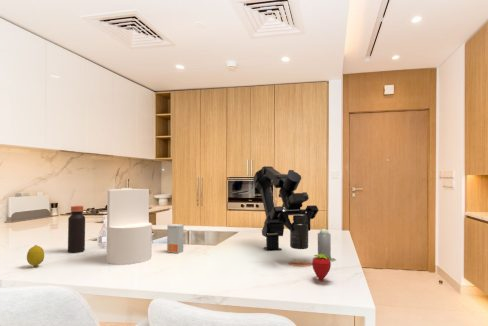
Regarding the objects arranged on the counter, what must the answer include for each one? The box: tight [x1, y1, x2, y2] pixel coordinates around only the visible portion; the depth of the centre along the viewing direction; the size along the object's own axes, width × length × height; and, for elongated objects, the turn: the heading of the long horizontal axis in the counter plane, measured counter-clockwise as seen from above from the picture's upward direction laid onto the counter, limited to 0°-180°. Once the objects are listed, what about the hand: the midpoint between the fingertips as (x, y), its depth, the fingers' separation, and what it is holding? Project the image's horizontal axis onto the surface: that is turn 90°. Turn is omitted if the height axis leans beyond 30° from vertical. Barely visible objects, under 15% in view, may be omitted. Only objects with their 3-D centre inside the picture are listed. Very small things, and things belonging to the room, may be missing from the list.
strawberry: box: [311, 251, 332, 282], centre depth 109 cm, size 6×8×10 cm
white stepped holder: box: [106, 188, 153, 266], centre depth 137 cm, size 17×17×28 cm
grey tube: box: [317, 228, 332, 260], centre depth 134 cm, size 5×5×12 cm
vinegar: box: [67, 205, 86, 254], centre depth 150 cm, size 7×7×20 cm
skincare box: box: [166, 223, 185, 254], centre depth 149 cm, size 6×4×12 cm
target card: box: [288, 256, 337, 268], centre depth 130 cm, size 12×22×1 cm, turn 107°
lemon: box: [26, 244, 45, 268], centre depth 125 cm, size 6×6×8 cm
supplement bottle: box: [289, 215, 309, 250], centre depth 127 cm, size 7×7×12 cm
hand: (301, 230), depth 126 cm, fingers closed on supplement bottle, 7 cm apart
